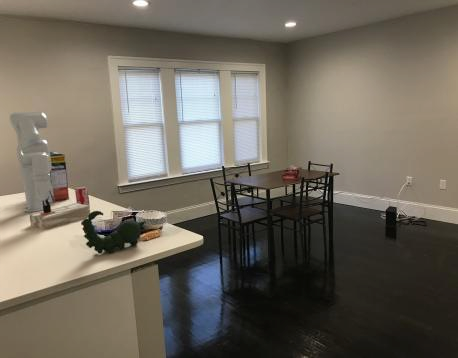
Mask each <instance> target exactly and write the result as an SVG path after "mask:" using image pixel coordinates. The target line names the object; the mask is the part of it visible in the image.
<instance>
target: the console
mask: <svg viewBox="0 0 458 358" xmlns="http://www.w3.org/2000/svg"><path fill="white" fill-rule="evenodd" d="M72 205H76V206H79V207H75V208H71V209H69V208H65V207H68V206H72ZM51 211H55V213H52V214H48V215H41V214H40V213H42V212H44V211H43V210H41V211H37V212H33V213H30V214H29V215H28V216H29V221H30V226H32V227H35V228H38V229H42V230H47V229H51V228H54V227H55V228H56V227H58V226H62V225H64V224H68V223H71V222H75V221H79V220H81V219H86V218H88V216H89V214H90V213H91V208H90V207H89V205H83V204H77V202H76V203H71V204H67V205H62V206H57V207H55V208H54V207H53V208H51Z"/></svg>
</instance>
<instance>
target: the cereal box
mask: <svg viewBox="0 0 458 358" xmlns="http://www.w3.org/2000/svg"><path fill="white" fill-rule="evenodd" d="M50 158H51V165H52V169H51V171H50V178H51V180H50V181H51V185H52V189H53V196H54V197H53V199H52V202H57V201H58V202H60V201H65V200H69V199H70V196H69V185H68V174H67V173H68V172H67V162H66V156H65V154H63V153H60V152H56V151H50Z"/></svg>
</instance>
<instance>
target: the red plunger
mask: <svg viewBox="0 0 458 358" xmlns="http://www.w3.org/2000/svg"><path fill="white" fill-rule="evenodd" d="M41 212H42V211H41ZM52 213H55V211H51V212H48V213H44V212H42V213H40V214H41V215H48V214H52Z"/></svg>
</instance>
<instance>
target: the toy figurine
mask: <svg viewBox="0 0 458 358" xmlns="http://www.w3.org/2000/svg"><path fill="white" fill-rule="evenodd" d="M99 215H100V216H104V215H105V214H104V213H103V212H102V211H99V210H93V211H90V214H89V216H88V217H87V218H83V221H81V225H82V226H83V227H82V231H83V232H84V233H85V234H84V235H83V238H85V239H86V240H87V242H86V243H85V245H86V246H87V247H88V248H90V249H92V248H94V251H95V252H97V253H98V254H99V255H101V254H103V251H105V252H108V253H109V254H113V253H114V252H115V249H116V248H118V249H119V250H124V249H125V247H126V245H125V244H130V246H136V245H138V244H139V241H138V239H140V237H141V228H142V227H143V226H144V225H145V223H146V220H143V221H138V222H137V221H135V220H132V219H127V220H123V221H122V222H121V223H119V225H118V226H117V228H116V230H113V232H111V233H109V235H106V236H103V237H101V236H100V235H99V234H98V232H97V231H96V230H95V226H94V225H93V220H94V219H95V218H96V217H97V216H99Z"/></svg>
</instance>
